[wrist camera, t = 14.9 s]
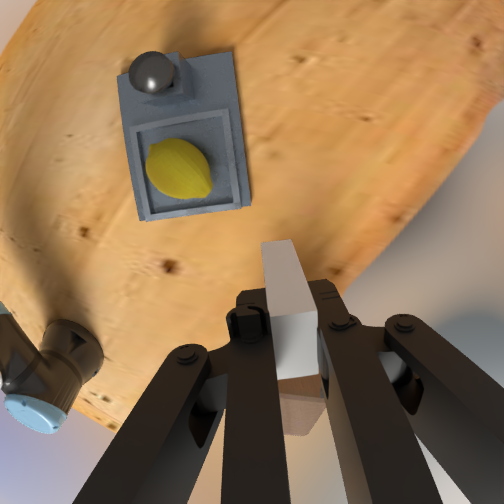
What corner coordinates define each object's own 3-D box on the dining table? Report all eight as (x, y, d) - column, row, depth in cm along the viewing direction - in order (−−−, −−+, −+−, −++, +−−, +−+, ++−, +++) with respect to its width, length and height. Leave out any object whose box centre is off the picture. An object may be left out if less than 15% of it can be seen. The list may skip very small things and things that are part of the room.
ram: (156, 103, 40) (130, 97, 30) (152, 71, 38) (126, 57, 28) (190, 96, 40) (173, 87, 30) (186, 64, 38) (168, 46, 28)
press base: (142, 218, 50) (119, 239, 40) (120, 77, 41) (91, 67, 32) (251, 203, 50) (251, 222, 40) (232, 53, 41) (227, 34, 31)
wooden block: (311, 321, 58) (334, 399, 39) (293, 360, 61) (307, 438, 43) (259, 310, 57) (264, 390, 38) (245, 351, 60) (245, 432, 42)
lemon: (142, 158, 45) (123, 164, 38) (178, 123, 43) (165, 122, 36) (189, 209, 48) (178, 223, 41) (226, 175, 46) (222, 184, 39)
